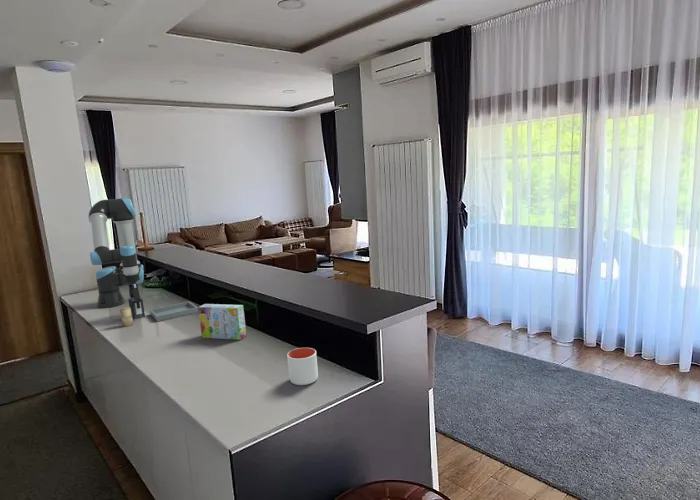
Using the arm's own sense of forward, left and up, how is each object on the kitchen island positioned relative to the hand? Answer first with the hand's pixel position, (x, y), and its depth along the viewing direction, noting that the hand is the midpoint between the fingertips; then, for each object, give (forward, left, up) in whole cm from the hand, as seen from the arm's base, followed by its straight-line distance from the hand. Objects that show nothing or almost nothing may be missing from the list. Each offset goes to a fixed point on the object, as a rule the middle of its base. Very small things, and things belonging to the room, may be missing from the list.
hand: (137, 311), depth 247 cm
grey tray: (+10, +17, -3) cm, 20 cm away
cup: (+134, +31, -3) cm, 137 cm away
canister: (+13, -7, -3) cm, 15 cm away
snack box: (+69, +25, -3) cm, 73 cm away
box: (0, 0, -3) cm, 3 cm away
